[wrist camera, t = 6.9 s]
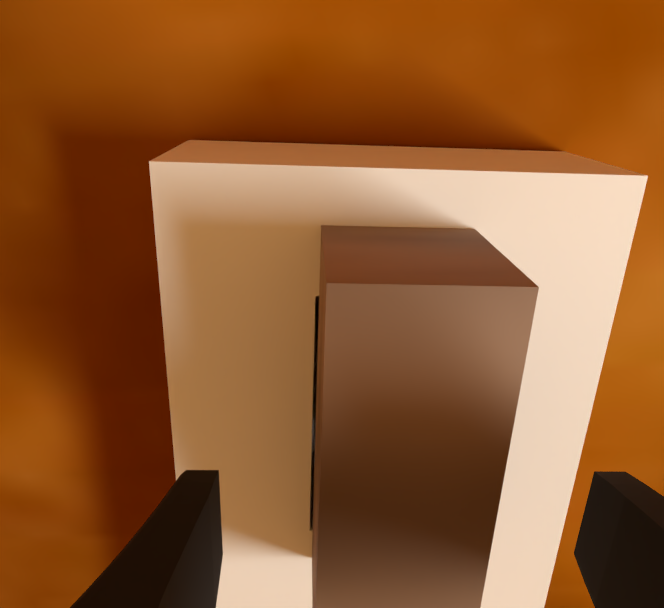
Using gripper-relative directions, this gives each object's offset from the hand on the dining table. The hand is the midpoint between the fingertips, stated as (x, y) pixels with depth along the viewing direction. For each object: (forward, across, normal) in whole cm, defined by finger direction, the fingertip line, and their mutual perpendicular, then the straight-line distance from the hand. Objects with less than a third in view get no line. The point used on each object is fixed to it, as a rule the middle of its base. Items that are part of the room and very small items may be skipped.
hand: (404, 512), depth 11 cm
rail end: (+6, 0, 0) cm, 6 cm away
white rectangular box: (+7, 0, +3) cm, 7 cm away
